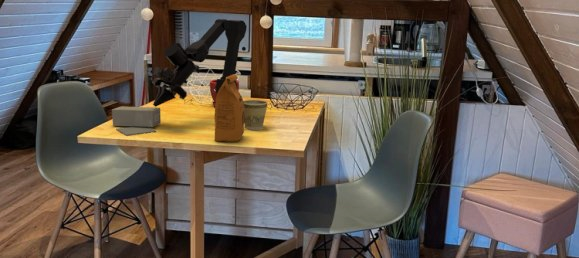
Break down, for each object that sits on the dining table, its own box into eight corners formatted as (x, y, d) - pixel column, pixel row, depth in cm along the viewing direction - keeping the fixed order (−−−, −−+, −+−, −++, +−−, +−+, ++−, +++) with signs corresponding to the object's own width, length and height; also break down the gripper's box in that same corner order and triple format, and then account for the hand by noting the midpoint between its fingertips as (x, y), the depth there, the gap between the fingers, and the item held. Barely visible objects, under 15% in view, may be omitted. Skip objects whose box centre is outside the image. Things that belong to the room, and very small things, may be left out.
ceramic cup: (256, 132, 190) (257, 105, 188) (235, 128, 195) (235, 102, 193) (276, 126, 201) (276, 100, 199) (255, 122, 206) (255, 97, 204)
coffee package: (248, 135, 185) (249, 74, 180) (238, 144, 173) (239, 78, 168) (221, 133, 187) (221, 72, 182) (210, 142, 175) (210, 77, 170)
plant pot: (231, 103, 246) (231, 77, 243) (243, 107, 235) (243, 81, 232) (205, 104, 239) (205, 78, 236) (216, 110, 228) (216, 83, 225)
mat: (145, 126, 194) (145, 125, 194) (156, 132, 186) (156, 130, 186) (116, 129, 187) (116, 128, 187) (126, 135, 180) (126, 134, 179)
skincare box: (152, 110, 188) (111, 107, 190) (152, 129, 190) (111, 126, 191) (161, 106, 196) (121, 104, 198) (161, 125, 198) (121, 122, 199)
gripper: (156, 56, 195) (128, 87, 191) (178, 61, 181) (149, 95, 177) (175, 76, 202) (149, 106, 198) (198, 82, 188) (171, 115, 184)
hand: (154, 105), depth 189 cm, fingers closed
